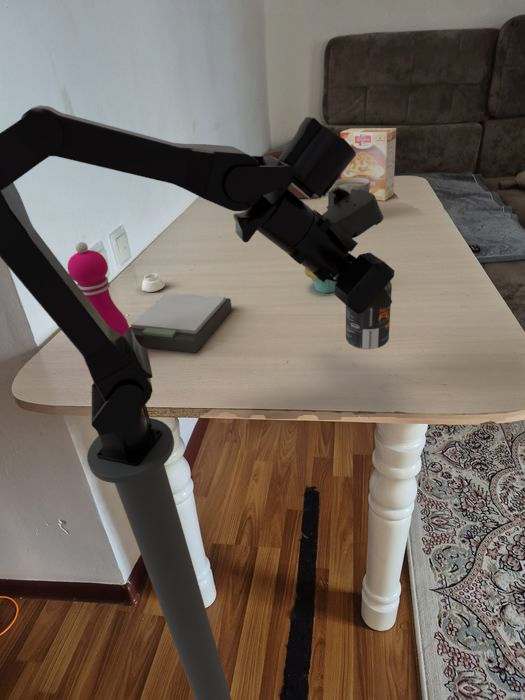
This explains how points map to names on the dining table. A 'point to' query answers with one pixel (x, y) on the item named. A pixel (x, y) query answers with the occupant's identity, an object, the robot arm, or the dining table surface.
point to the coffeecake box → (372, 158)
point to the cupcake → (321, 283)
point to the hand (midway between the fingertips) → (377, 295)
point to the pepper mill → (96, 285)
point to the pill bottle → (369, 326)
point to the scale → (180, 321)
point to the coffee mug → (352, 184)
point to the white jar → (152, 283)
